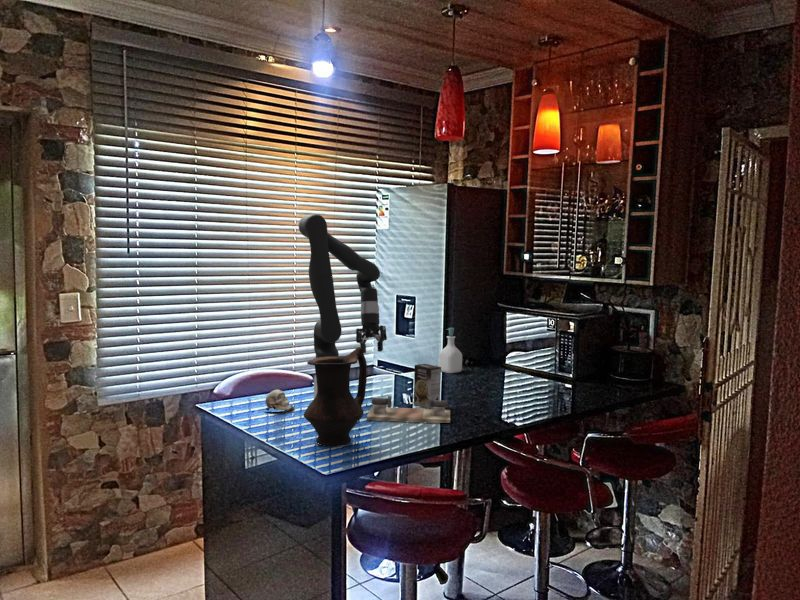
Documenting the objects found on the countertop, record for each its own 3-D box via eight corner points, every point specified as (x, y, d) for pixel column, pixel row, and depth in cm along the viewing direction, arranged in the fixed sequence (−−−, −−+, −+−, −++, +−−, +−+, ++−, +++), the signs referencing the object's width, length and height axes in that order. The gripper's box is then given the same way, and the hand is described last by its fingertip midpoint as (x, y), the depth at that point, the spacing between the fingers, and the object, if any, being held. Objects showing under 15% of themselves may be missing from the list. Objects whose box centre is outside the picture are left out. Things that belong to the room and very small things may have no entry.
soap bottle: (450, 369, 324) (451, 326, 322) (463, 372, 316) (464, 328, 315) (436, 371, 318) (438, 327, 316) (450, 374, 310) (451, 329, 309)
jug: (321, 456, 183) (322, 356, 180) (293, 440, 198) (293, 347, 195) (380, 444, 195) (382, 350, 193) (350, 430, 210) (351, 342, 208)
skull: (302, 405, 238) (291, 389, 232) (288, 428, 232) (276, 412, 226) (279, 400, 245) (267, 384, 238) (265, 421, 239) (252, 406, 232)
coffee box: (412, 404, 247) (413, 364, 246) (423, 402, 252) (424, 363, 250) (429, 409, 241) (430, 368, 239) (440, 406, 245) (441, 366, 244)
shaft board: (366, 420, 223) (366, 399, 222) (371, 410, 237) (371, 390, 236) (450, 424, 220) (450, 402, 220) (450, 413, 234) (450, 393, 233)
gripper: (351, 314, 257) (352, 353, 255) (377, 310, 249) (379, 350, 246) (362, 315, 263) (364, 353, 261) (389, 311, 255) (391, 351, 252)
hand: (371, 352), depth 253 cm, fingers open, 8 cm apart
